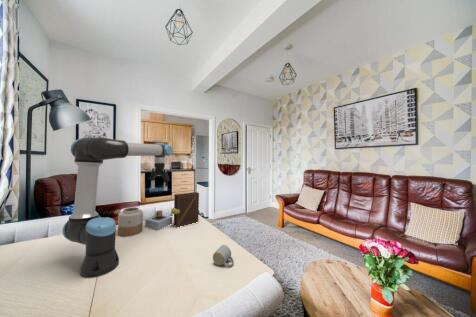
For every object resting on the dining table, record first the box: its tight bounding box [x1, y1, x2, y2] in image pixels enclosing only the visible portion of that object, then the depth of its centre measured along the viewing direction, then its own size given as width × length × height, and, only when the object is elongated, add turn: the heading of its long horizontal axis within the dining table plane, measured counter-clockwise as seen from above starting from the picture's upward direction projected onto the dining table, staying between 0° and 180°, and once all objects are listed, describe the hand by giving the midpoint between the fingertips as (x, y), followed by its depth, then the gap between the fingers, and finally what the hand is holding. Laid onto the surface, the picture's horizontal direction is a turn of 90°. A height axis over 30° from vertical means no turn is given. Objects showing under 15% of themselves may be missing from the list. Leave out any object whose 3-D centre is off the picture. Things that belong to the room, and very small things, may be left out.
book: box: [171, 191, 200, 228], centre depth 146 cm, size 22×8×25 cm, turn 130°
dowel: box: [155, 210, 163, 219], centre depth 142 cm, size 4×4×6 cm
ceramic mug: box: [212, 244, 234, 268], centre depth 95 cm, size 11×8×8 cm
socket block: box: [144, 214, 173, 231], centre depth 142 cm, size 14×14×7 cm
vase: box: [117, 206, 144, 238], centre depth 129 cm, size 15×15×17 cm
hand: (159, 189), depth 141 cm, fingers open, 13 cm apart
